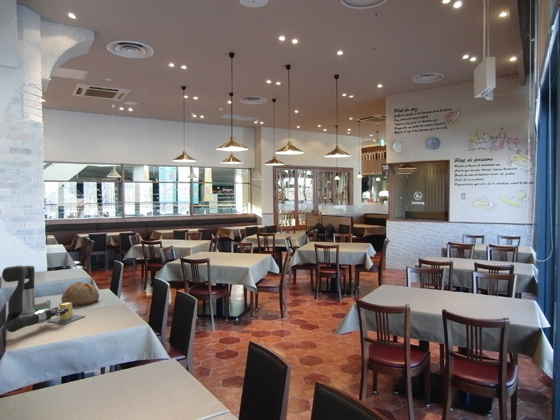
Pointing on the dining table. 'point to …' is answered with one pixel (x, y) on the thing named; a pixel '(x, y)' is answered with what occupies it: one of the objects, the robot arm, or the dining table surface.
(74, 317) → the mat
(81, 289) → the bread
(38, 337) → the dining table surface
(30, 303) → the robot arm
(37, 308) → the food container
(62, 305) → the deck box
